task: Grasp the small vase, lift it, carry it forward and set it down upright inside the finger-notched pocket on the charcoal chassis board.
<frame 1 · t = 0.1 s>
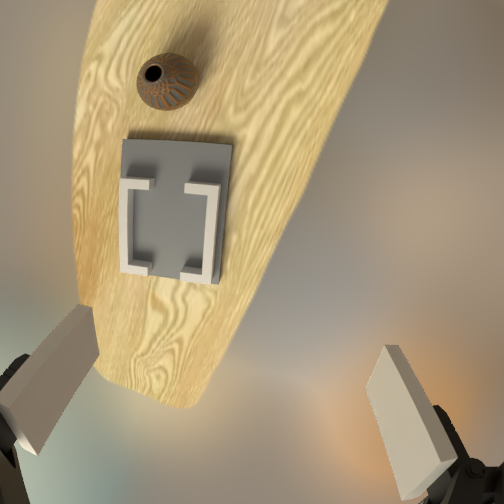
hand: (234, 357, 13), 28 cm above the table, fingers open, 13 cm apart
vase: (176, 87, 34), on the table
chassis board: (172, 210, 39), on the table
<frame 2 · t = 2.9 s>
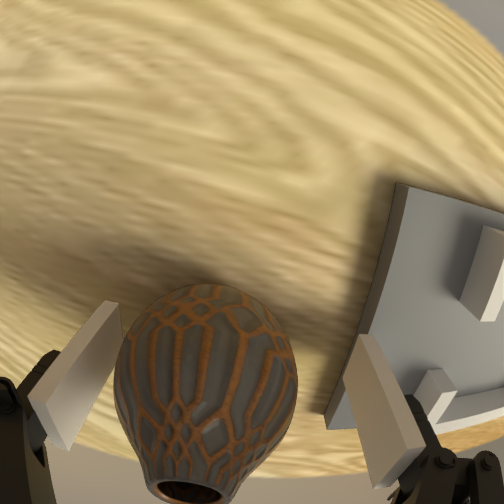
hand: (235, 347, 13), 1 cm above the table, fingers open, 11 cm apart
vase: (215, 325, 15), on the table
chassis board: (480, 326, 15), on the table
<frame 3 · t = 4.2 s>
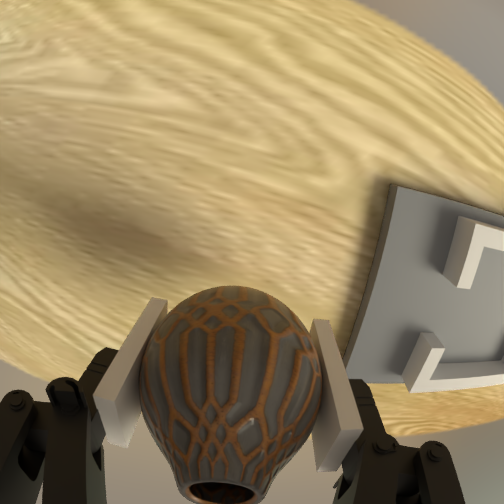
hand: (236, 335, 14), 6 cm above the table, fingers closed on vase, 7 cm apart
vase: (235, 327, 15), point 5 cm above the table, touching gripper
chassis board: (466, 301, 19), on the table
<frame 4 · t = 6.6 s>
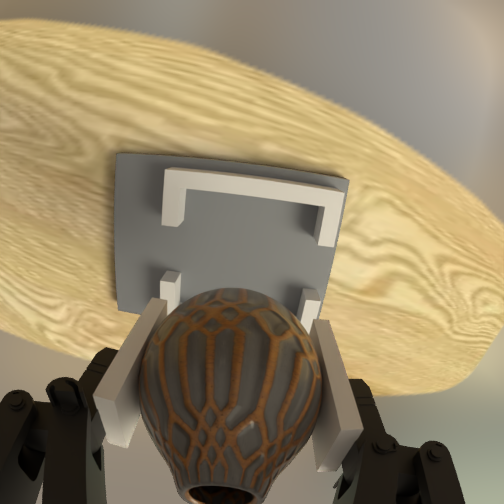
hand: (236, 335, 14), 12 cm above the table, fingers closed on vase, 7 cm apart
vase: (235, 328, 15), point 11 cm above the table, touching gripper
chassis board: (221, 246, 25), on the table
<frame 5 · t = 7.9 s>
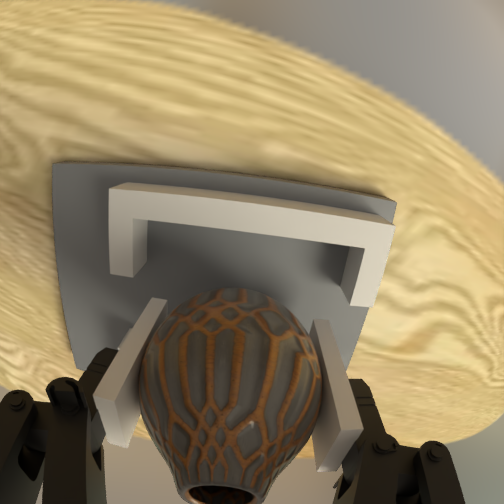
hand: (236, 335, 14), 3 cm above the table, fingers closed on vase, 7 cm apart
vase: (235, 328, 15), point 3 cm above the table, touching gripper
chassis board: (204, 296, 17), on the table
when the fingers open (2 cm above the table, at t = 9.0 s): vase stays where it is, resting on chassis board.
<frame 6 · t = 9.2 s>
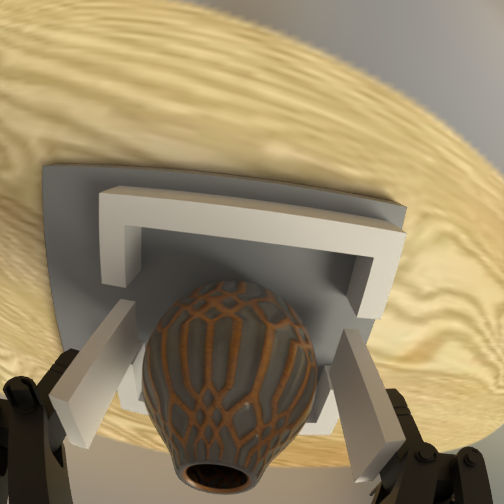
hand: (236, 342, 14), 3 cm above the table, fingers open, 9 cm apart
vase: (236, 321, 15), point 1 cm above the table, touching chassis board
chassis board: (202, 306, 16), on the table
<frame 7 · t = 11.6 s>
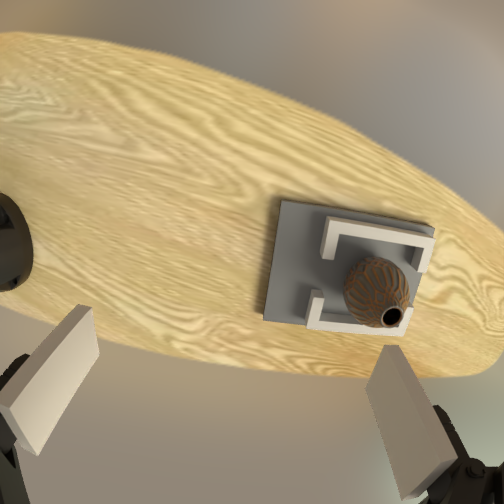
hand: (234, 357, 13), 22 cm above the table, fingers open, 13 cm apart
vase: (366, 277, 33), point 1 cm above the table, touching chassis board
chassis board: (349, 271, 34), on the table
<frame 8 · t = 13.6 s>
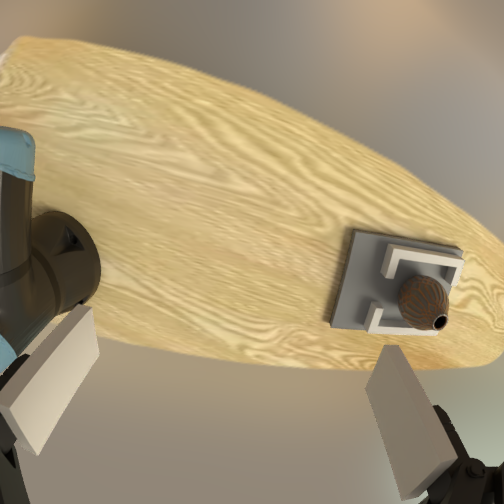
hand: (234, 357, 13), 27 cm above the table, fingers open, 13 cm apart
vase: (412, 290, 40), point 1 cm above the table, touching chassis board
chassis board: (398, 285, 41), on the table
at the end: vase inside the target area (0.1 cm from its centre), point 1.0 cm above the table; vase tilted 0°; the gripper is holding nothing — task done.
